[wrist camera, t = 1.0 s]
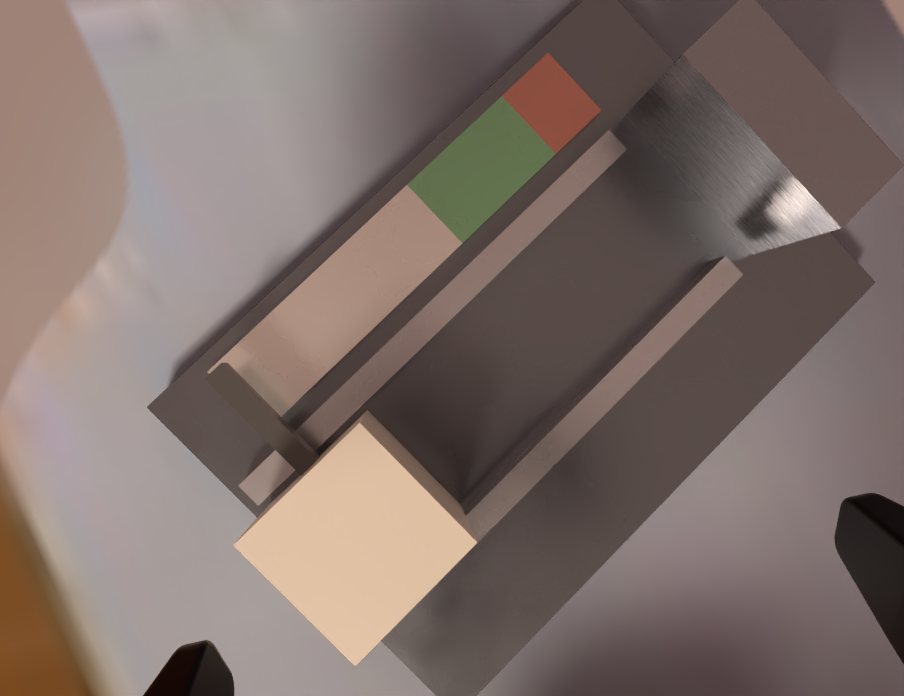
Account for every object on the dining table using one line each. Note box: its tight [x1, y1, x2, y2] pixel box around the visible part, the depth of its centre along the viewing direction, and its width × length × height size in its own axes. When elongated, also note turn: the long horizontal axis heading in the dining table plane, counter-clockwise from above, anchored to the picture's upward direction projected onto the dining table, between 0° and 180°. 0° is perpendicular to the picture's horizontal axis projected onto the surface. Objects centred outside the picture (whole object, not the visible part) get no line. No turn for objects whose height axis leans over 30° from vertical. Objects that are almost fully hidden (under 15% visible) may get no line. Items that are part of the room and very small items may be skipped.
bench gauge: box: [147, 0, 903, 696], centre depth 18 cm, size 19×13×5 cm
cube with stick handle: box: [205, 363, 477, 666], centre depth 17 cm, size 4×8×4 cm, turn 44°
